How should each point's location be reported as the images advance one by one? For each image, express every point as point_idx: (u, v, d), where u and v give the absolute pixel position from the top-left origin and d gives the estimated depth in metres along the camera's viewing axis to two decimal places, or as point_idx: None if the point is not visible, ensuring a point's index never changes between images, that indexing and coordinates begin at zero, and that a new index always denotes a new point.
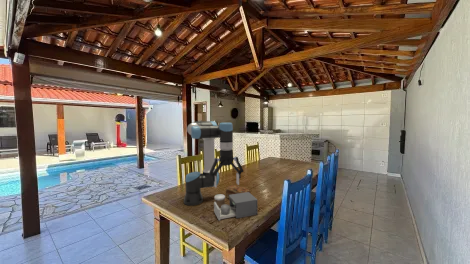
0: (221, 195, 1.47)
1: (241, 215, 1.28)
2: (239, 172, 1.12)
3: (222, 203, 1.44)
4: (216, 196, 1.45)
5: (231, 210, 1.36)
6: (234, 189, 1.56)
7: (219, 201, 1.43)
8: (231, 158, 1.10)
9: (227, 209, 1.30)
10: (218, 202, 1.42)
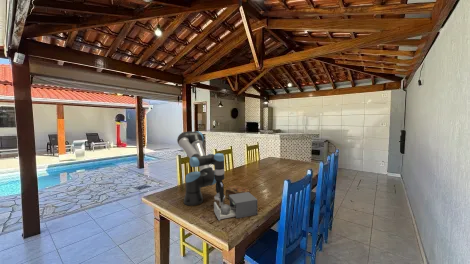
0: None
1: (241, 215, 1.28)
2: None
3: None
4: (216, 196, 1.45)
5: (231, 210, 1.36)
6: (234, 189, 1.56)
7: None
8: (219, 182, 1.42)
9: (227, 209, 1.30)
10: (218, 202, 1.42)
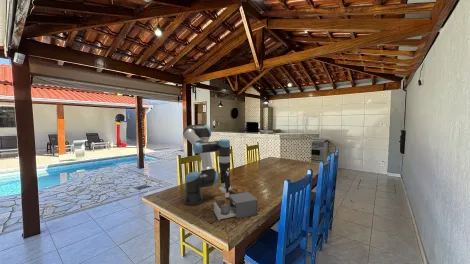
0: None
1: (241, 215, 1.28)
2: (225, 186, 1.26)
3: (222, 203, 1.44)
4: (221, 186, 1.31)
5: (231, 210, 1.36)
6: (234, 189, 1.56)
7: (219, 201, 1.43)
8: (224, 170, 1.27)
9: (227, 209, 1.30)
10: (218, 202, 1.42)
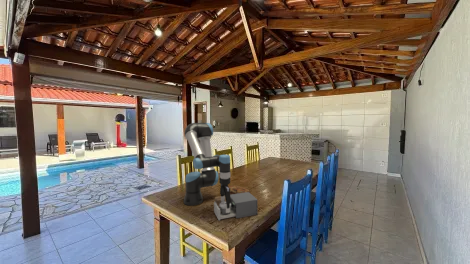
0: None
1: (241, 215, 1.28)
2: (226, 202, 1.25)
3: None
4: (221, 204, 1.32)
5: (231, 210, 1.36)
6: (234, 189, 1.56)
7: (219, 201, 1.43)
8: (224, 186, 1.28)
9: None
10: (218, 202, 1.42)
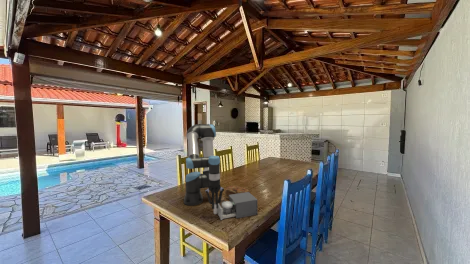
0: (229, 202, 1.34)
1: (241, 215, 1.28)
2: (216, 203, 1.28)
3: None
4: (223, 203, 1.32)
5: (233, 210, 1.36)
6: (233, 189, 1.55)
7: None
8: (219, 186, 1.29)
9: (229, 209, 1.30)
10: None
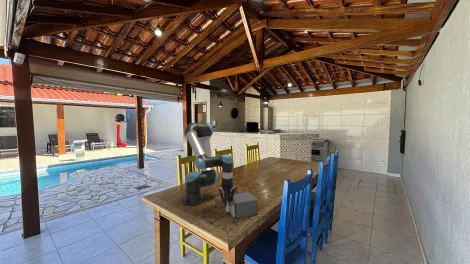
0: None
1: (241, 215, 1.28)
2: (229, 201, 1.31)
3: (222, 203, 1.44)
4: None
5: None
6: None
7: (219, 201, 1.43)
8: (232, 184, 1.32)
9: None
10: (218, 202, 1.42)
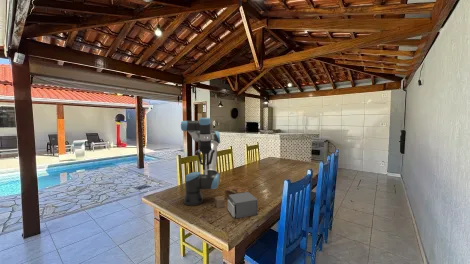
0: None
1: (241, 215, 1.28)
2: (207, 163, 1.30)
3: (222, 203, 1.44)
4: None
5: None
6: (233, 190, 1.55)
7: (219, 201, 1.43)
8: (210, 147, 1.31)
9: None
10: (218, 202, 1.42)
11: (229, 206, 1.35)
